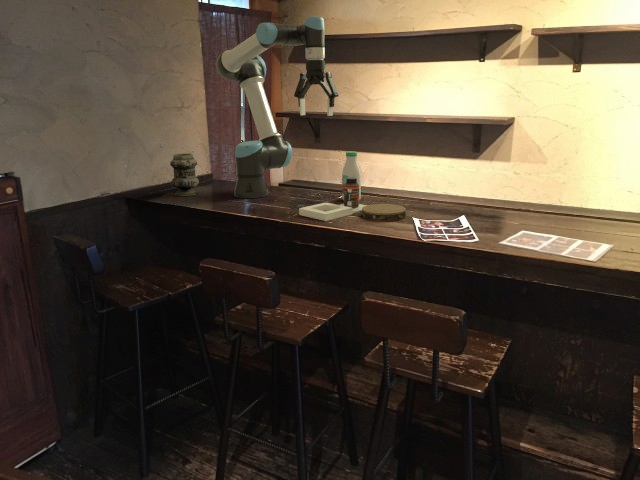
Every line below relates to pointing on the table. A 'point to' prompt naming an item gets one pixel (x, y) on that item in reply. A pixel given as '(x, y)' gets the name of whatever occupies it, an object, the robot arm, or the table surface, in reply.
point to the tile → (357, 208)
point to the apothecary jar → (184, 173)
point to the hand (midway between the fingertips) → (316, 115)
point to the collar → (331, 211)
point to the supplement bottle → (351, 193)
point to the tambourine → (383, 212)
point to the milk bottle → (351, 171)
